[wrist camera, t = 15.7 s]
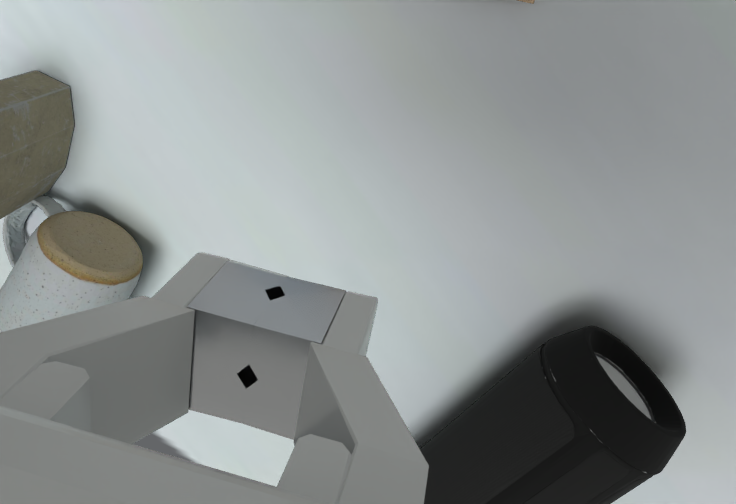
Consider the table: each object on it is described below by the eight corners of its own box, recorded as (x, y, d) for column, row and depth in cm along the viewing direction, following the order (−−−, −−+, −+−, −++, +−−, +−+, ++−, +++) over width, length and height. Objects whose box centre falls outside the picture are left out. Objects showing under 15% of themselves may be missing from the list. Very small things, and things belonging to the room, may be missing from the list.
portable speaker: (433, 545, 54) (425, 663, 45) (342, 485, 52) (316, 594, 43) (669, 372, 43) (721, 484, 34) (563, 289, 41) (588, 383, 32)
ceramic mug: (168, 247, 44) (110, 300, 37) (125, 322, 48) (65, 383, 41) (38, 161, 43) (-46, 200, 36) (4, 245, 47) (-79, 294, 40)
